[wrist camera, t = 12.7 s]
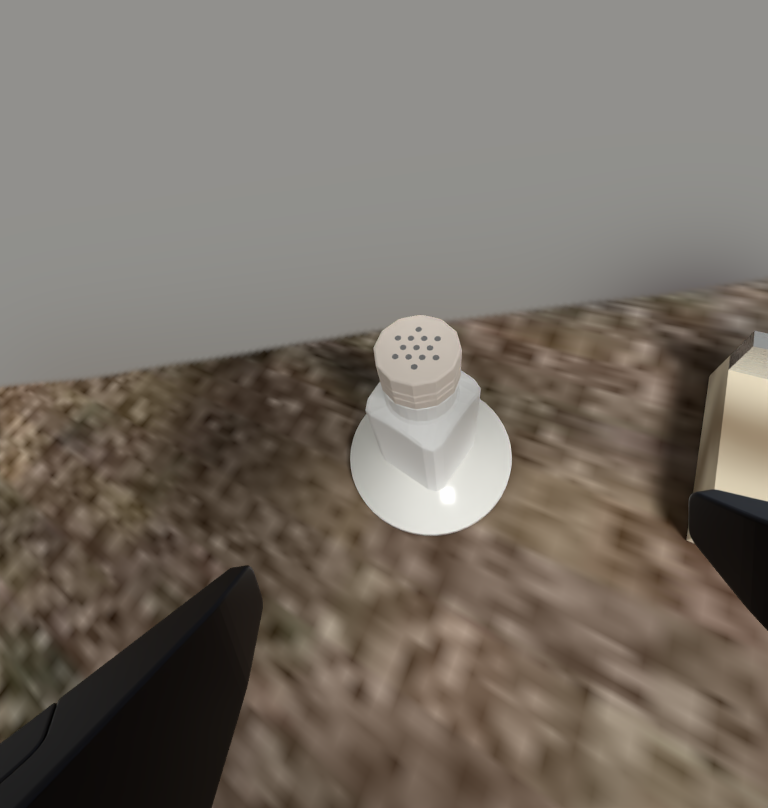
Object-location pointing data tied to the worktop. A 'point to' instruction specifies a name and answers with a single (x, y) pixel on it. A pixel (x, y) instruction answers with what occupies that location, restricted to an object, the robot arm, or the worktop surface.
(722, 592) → the worktop surface
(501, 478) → the coaster
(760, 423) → the square wooden frame
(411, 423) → the pepper shaker
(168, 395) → the worktop surface
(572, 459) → the worktop surface
